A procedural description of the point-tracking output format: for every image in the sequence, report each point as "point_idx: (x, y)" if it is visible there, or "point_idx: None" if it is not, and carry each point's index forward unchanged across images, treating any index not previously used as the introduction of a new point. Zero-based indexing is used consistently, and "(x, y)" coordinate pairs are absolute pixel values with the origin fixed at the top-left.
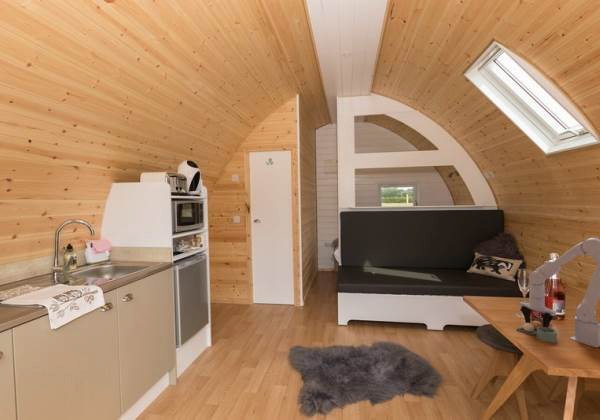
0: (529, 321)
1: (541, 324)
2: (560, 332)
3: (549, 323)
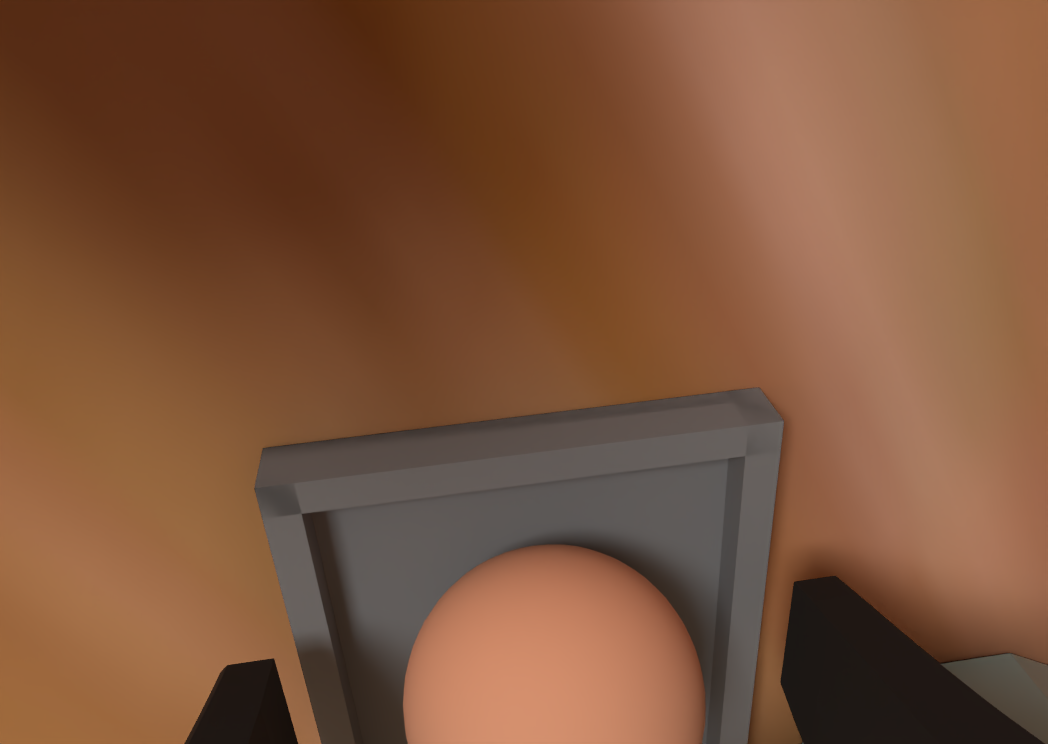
0: (269, 737)
1: (696, 697)
2: (988, 89)
3: (996, 711)
